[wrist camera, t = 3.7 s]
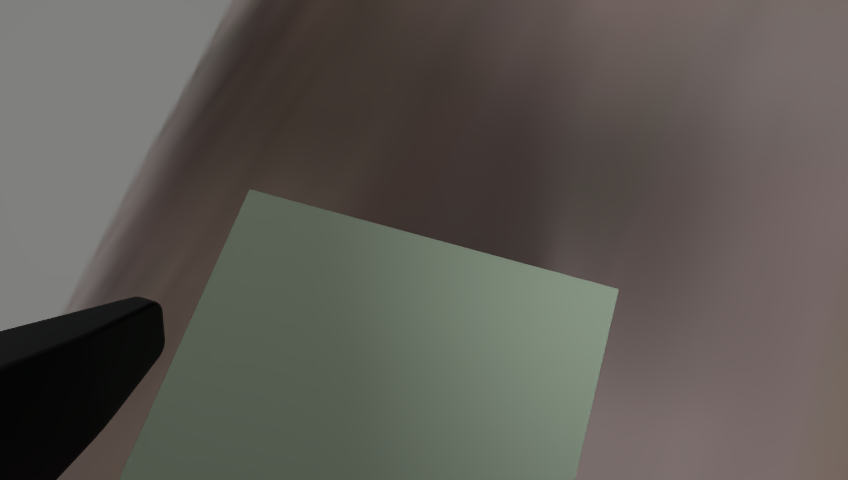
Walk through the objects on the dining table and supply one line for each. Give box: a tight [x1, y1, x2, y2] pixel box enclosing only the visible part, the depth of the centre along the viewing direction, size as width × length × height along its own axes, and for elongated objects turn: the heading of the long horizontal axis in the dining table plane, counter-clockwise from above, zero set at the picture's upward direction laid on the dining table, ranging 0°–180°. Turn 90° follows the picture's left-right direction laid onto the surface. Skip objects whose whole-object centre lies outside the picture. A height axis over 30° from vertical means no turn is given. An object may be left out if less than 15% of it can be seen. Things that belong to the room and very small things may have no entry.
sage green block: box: [119, 189, 619, 480], centre depth 11 cm, size 4×4×11 cm
